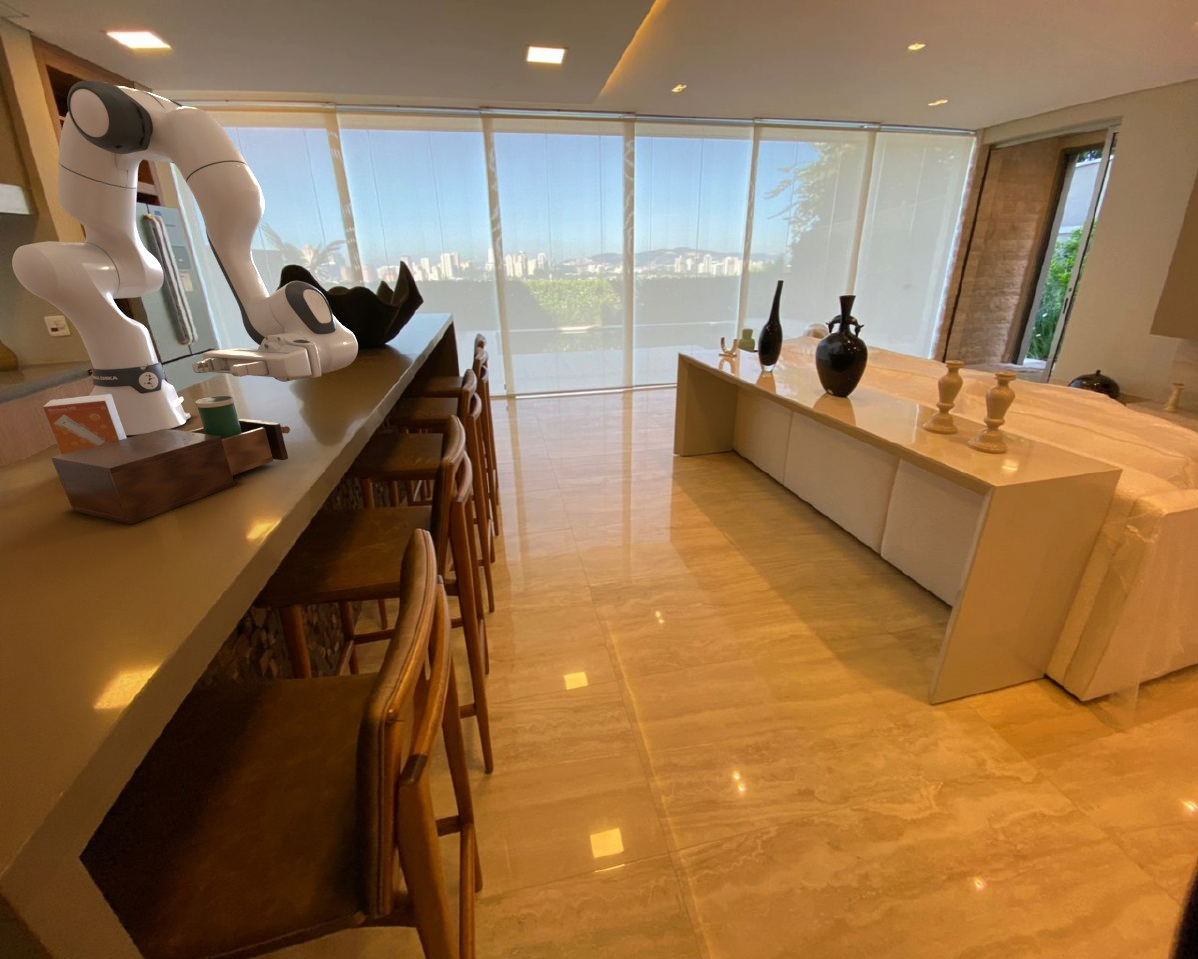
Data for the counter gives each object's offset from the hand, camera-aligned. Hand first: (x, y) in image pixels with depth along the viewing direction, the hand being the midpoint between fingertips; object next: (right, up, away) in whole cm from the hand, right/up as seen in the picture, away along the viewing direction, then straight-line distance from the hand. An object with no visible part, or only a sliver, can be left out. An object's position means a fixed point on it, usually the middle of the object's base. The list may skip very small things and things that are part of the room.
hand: (214, 369), depth 90 cm
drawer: (0, -16, +6) cm, 17 cm away
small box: (-25, -17, +6) cm, 31 cm away
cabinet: (-5, -21, -6) cm, 23 cm away
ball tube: (0, -15, +5) cm, 16 cm away
